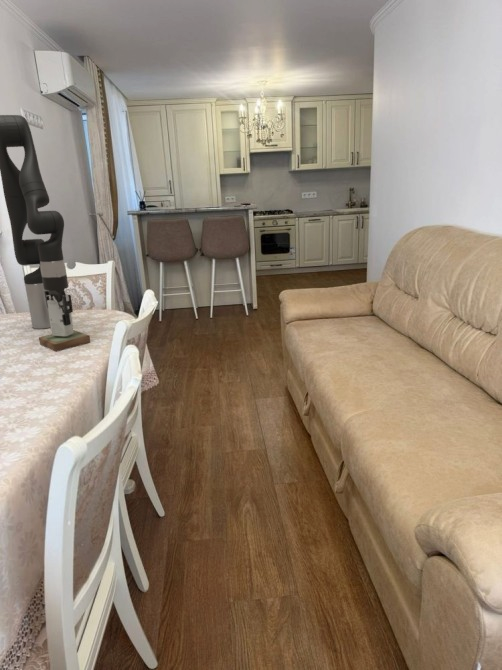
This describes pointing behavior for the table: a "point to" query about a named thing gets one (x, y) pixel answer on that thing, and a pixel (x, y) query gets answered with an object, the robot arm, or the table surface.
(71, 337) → the block
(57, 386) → the table surface
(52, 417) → the table surface
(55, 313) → the skincare box
